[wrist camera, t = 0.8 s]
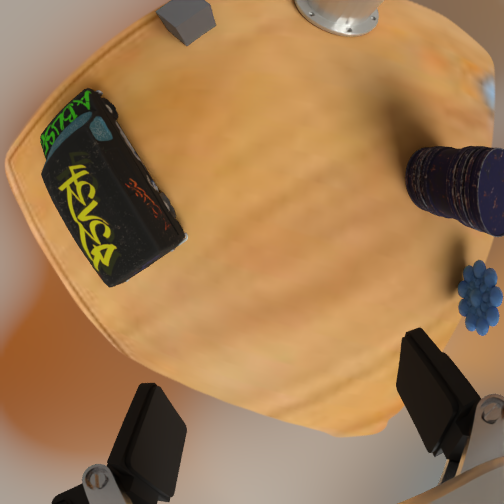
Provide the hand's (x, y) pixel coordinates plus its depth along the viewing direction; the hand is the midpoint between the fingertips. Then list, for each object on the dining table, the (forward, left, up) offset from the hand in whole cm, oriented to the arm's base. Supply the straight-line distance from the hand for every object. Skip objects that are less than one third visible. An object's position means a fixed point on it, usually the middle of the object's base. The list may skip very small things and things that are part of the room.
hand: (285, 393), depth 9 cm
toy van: (+10, -18, -28) cm, 35 cm away
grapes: (-22, +31, -27) cm, 47 cm away
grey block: (-11, -28, -27) cm, 41 cm away
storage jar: (-24, +10, -27) cm, 38 cm away
